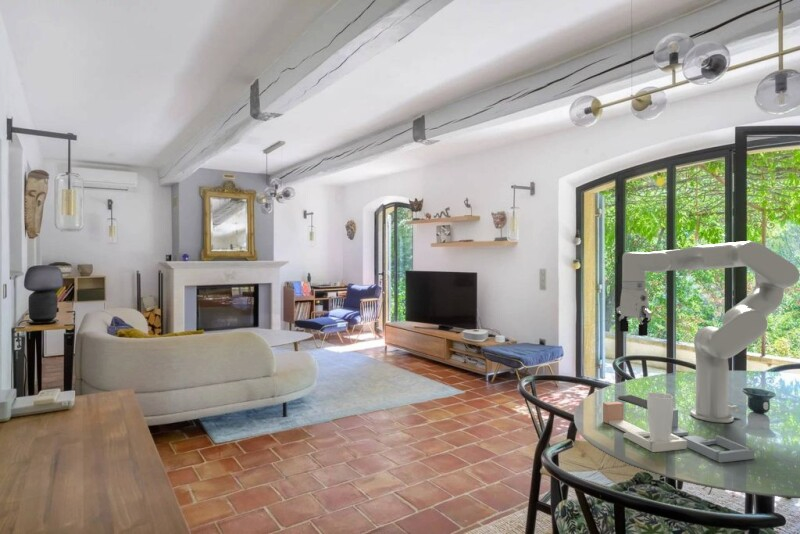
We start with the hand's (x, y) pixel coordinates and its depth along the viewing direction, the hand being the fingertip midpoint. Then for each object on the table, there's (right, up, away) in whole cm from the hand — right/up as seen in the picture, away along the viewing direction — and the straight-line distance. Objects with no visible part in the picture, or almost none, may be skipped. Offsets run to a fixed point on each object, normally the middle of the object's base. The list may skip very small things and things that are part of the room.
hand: (633, 333), depth 173 cm
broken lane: (+4, -28, -30) cm, 42 cm away
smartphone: (+8, -29, +10) cm, 32 cm away
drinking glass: (-8, -29, -32) cm, 44 cm away
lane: (-10, -28, -23) cm, 38 cm away
